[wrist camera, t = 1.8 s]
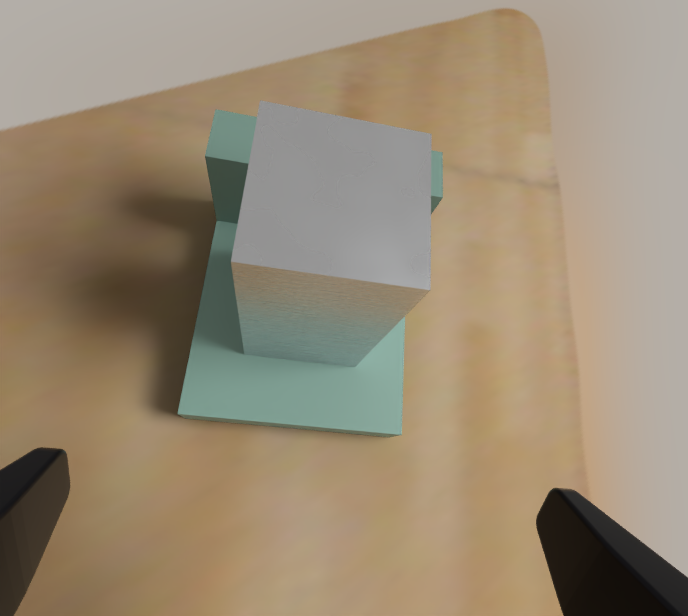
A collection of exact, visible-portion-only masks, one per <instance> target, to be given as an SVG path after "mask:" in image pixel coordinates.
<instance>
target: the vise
mask: <svg viewBox="0 0 688 616" xmlns="http://www.w3.org/2000/svg"><path fill="white" fill-rule="evenodd" d="M256 121H257V117H253V116H248V115H243V114H238V113H232V112H227V111H222V110H215V115H214V119H213V123H212V128H211V132H210V137H209V141H208V145H207V150H206V154H205V158H206V164H207V169H208V175H209V181H210V186H211V192H212V197H213V203H214V208H215V214H216V219H217V221H216V226H215V231H214V236H213V241H212V246H211V251H210V256H209V261H208V266H207V271H206V276H205V281H204V285H203V290H202V295H201V300H200V305H199V310H198V315H197V320H196V325H195V330H194V335H193V340H192V345H191V350H190V354H189V359H188V364H187V369H186V374H185V379H184V384H183V389H182V394H181V399H180V404H179V409H178V415H180V416H182V417H183V418H186V419H197V420H208V421H218V422H229V423H240V424H251V425H262V426H273V427H284V428H294V429H305V430H316V431H327V432H338V433H349V434H360V435H370V436H381V437H394V436H398V435H402V403H403V367H404V332H405V317H404V318H403V319H402V320H401V321H400V322H399V323H398V324H397V325H396V326H395V327H394V328H393V329H392V330H391V331H390V332H389V333H388V334H387V335H386V336H385V337H384V338H383V339H382V340H381V341H380V342H379V343H378V344H377V345H376V346H375V347H374V348H373V349H372V350H371V351H370V352H369V353H368V354H367V356H366V357H365V358H364V359H363V360H362V361H361V362H360V363H359V364H358V365H357V366H356V367H347V366H339V365H330V364H321V363H312V362H304V361H295V360H286V359H277V358H269V357H260V356H251V355H244V348H243V342H242V335H241V328H240V321H239V314H238V308H237V301H236V294H235V287H234V280H233V273H232V267H231V258H232V252H233V247H234V241H235V236H236V230H237V225H238V219H239V214H240V209H241V203H242V198H243V192H244V187H245V181H246V176H247V170H248V165H249V159H250V154H251V148H252V143H253V138H254V132H255V127H256ZM442 198H443V164H442V152H437V151H432V150H431V214H432V212H433V211H434V209H435V208H436V207H437V205H438V204H439V202H440V201H441V199H442Z"/></svg>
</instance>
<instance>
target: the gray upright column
mask: <svg viewBox="0 0 688 616" xmlns="http://www.w3.org/2000/svg"><path fill="white" fill-rule="evenodd" d="M231 267H232V273H233V280H234V287H235V294H236V301H237V308H238V314H239V321H240V328H241V335H242V342H243V348H244V355H251V356H260V357H269V358H277V359H286V360H295V361H304V362H312V363H321V364H330V365H339V366H347V367H356V366H357V365H358V364H359V363H360V362H361V361H362V360H363V359H364V358H365V357H366V356H367V354H368V353H369V352H370V351H371V350H372V349H373V348H374V347H375V346H376V345H377V344H378V343H379V342H380V341H381V340H382V339H383V338H384V337H385V336H386V335H387V334H388V333H389V332H390V331H391V330H392V329H393V328H394V327H395V326H396V325H397V324H398V323H399V322H400V321H401V320H402V319H403V318H404V317H405V316H406V315H407V314H408V313H409V312H410V311H411V309H412V308H413V307H414V306H415V305H416V304H417V303H418V302H419V301H420V300H421V299H422V298H423V297H424V296H425V295H426V294H427V293H428V292H429V291H430V267H431V134H429V133H424V132H419V131H414V130H409V129H403V128H398V127H393V126H388V125H383V124H378V123H373V122H368V121H363V120H357V119H352V118H347V117H342V116H337V115H332V114H327V113H322V112H317V111H311V110H306V109H301V108H296V107H291V106H286V105H281V104H276V103H271V102H265V101H260V105H259V110H258V116H257V121H256V127H255V132H254V138H253V143H252V148H251V154H250V159H249V165H248V170H247V176H246V181H245V187H244V192H243V198H242V203H241V209H240V214H239V219H238V225H237V230H236V236H235V241H234V247H233V252H232V258H231Z"/></svg>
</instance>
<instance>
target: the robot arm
mask: <svg viewBox="0 0 688 616" xmlns="http://www.w3.org/2000/svg"><path fill="white" fill-rule="evenodd" d="M69 490H70V477H69V468H68V459H67V454H66V452H65V451H64V450H62V449H56V448H43V447H41V448H37V449H34V450H32V451H31V452H29V453H27V454H26V455H24V456H23V457H21V458H19V459H18V460H16V461H14V462H13V463H11V464H9V465H8V466H6V467H5V468H3V469H1V470H0V616H14V614H15V612H16V611H17V609H18V607H19V605H20V603H21V601H22V599H23V597H24V595H25V594H26V592H27V589H28V587H29V585H30V583H31V581H32V579H33V576H34V574H35V572H36V569H37V567H38V565H39V563H40V560H41V558H42V556H43V553H44V551H45V549H46V546H47V544H48V542H49V539H50V537H51V535H52V533H53V530H54V528H55V526H56V523H57V521H58V519H59V516H60V514H61V512H62V510H63V507H64V505H65V503H66V500H67V498H68V495H69ZM536 526H537V531H538V534H539V538H540V541H541V544H542V548H543V551H544V554H545V558H546V561H547V564H548V568H549V571H550V574H551V578H552V581H553V584H554V588H555V591H556V594H557V598H558V601H559V604H560V607H561V610H562V613H563V615H564V616H688V577H686V576H685V575H684V574H682V573H681V572H680V571H679V570H677V569H676V568H675V567H673V566H672V565H671V564H670V563H668V562H667V561H666V560H664V559H663V558H662V557H661V556H659V555H658V554H656V553H655V552H654V551H653V550H651V549H650V548H649V547H647V546H646V545H645V544H644V543H642V542H641V541H640V540H639V539H637V538H636V537H635V536H633V535H632V534H631V533H629V532H628V531H627V530H626V529H624V528H623V527H622V526H620V525H619V524H618V523H616V522H615V521H614V520H613V519H611V518H610V517H609V516H608V515H606V514H605V513H604V512H602V511H601V510H600V509H598V508H597V507H596V506H595V505H593V504H592V503H591V502H589V501H588V500H587V499H586V498H584V497H583V496H582V495H580V494H579V493H578V492H576V491H575V490H572V489H563V488H553V489H552V490H550V492H549V493H548V495H547V497H546V499H545V501H544V503H543V505H542V507H541V509H540V511H539V513H538V515H537V519H536Z"/></svg>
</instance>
